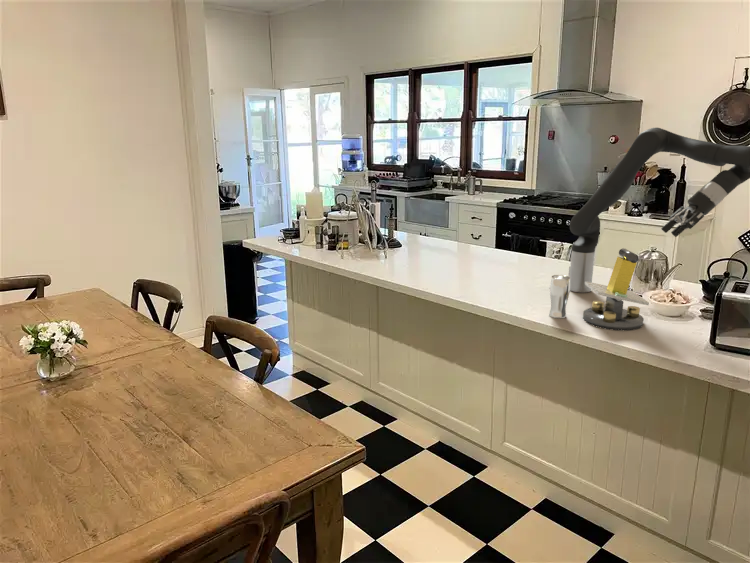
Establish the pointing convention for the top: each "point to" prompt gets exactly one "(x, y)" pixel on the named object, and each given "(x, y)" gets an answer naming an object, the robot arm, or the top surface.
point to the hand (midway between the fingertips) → (668, 232)
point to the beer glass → (559, 295)
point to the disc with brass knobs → (613, 315)
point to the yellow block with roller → (620, 279)
